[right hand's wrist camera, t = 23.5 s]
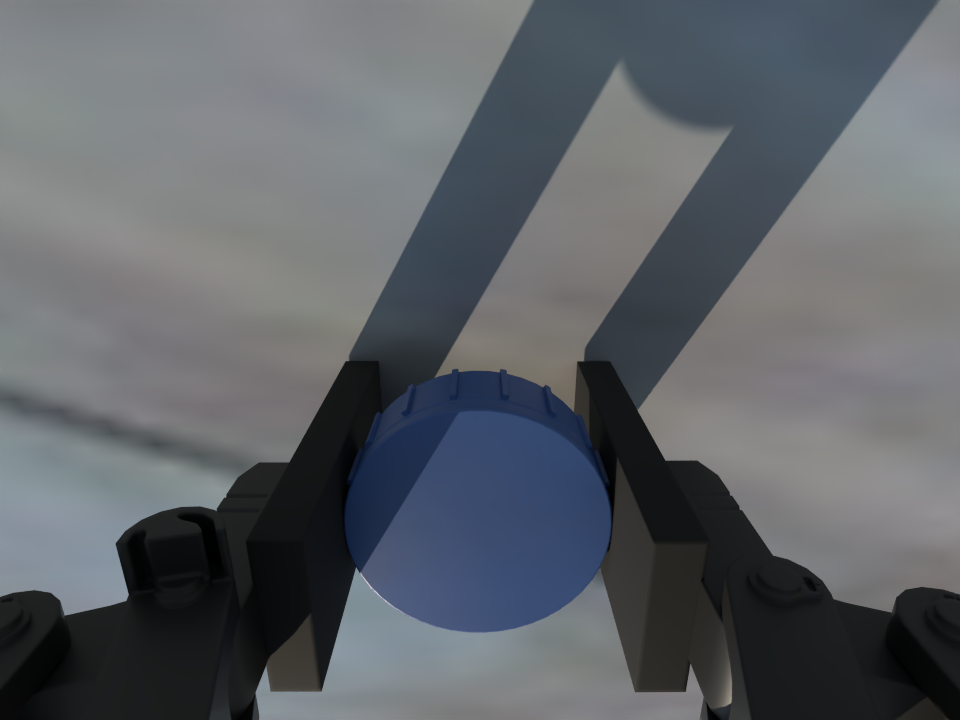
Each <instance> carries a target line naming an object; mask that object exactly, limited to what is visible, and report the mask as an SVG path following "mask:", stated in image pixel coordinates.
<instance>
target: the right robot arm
mask: <svg viewBox="0 0 960 720" xmlns="http://www.w3.org/2000/svg"><path fill="white" fill-rule="evenodd" d="M378 412H380V413H381V414H382V410H381V395H380V379H379V364H378V361H346V362H345V364H344V365H343V367H342V369H341V371H340V373H339V374H338V376H337V378H336V380H335V382H334V383H333V385H332V387H331V389H330V391H329V392H328V394H327V396H326V398H325V400H324V401H323V403H322V405H321V407H320V409H319V410H318V412H317V414H316V416H315V417H314V419H313V421H312V423H311V425H310V426H309V428H308V430H307V432H306V434H305V435H304V437H303V439H302V441H301V443H300V444H299V446H298V448H297V450H296V452H295V453H294V455H293V457H292V459H291V461H290V462H289V463H258V464H256V465H255V466H253V467H252V468H251V469H249V470H248V471H246V472H245V473H244V474H242V475H241V476H239V477H238V478H237V480H236V481H235V483H234V484H233V486H232V487H231V489H230V490H229V492H228V493H227V497H226V498H224V499H223V500H222V502H221V503H220V505H219V506H218V508H217V512H216V511H215V510H212V509H208V508H204V507H180V508H175V509H171V510H166V511H162V512H159V513H157V514H154V515H152V516H150V517H147V518H145V519H143V520H141V521H139V522H138V523H136V524H135V525H134V526H132V527H131V528H129V529H128V530H126V531H125V532H124V534H123V535H122V536H121V537H120V539H119V540H118V541H117V542H116V547H117V551H118V555H119V559H120V562H121V566H122V570H123V574H124V578H125V581H126V585H127V589H128V593H129V596H128V598H127V601H125V602H121V603H118V604H115V605H111V606H107V607H102V608H98V609H93V610H89V611H84V612H80V613H75V614H71V615H66V616H65V615H64V612H63V609H62V606H61V602H60V600H59V599H57V598H56V597H55V596H54V595H53V594H51V593H48V592H42V591H36V590H33V591H25V592H17V593H11V594H8V595H5V596H2V597H0V720H259V711H258V705H257V699H256V693H255V692H256V690H257V687H258V685H259V682H260V679H261V677H262V674H263V672H264V669H265V667H266V666H267V672H268V678H269V684H270V690H271V691H322V688H323V684H324V680H325V677H326V673H327V670H328V666H329V662H330V659H331V655H332V652H333V648H334V645H335V641H336V637H337V634H338V630H339V627H340V623H341V619H342V616H343V612H344V609H345V605H346V601H347V598H348V594H349V591H350V587H351V583H352V580H353V576H354V573H355V569H356V566H355V564H354V562H353V560H352V557H351V554H350V552H349V549H348V546H347V542H346V537H345V532H344V507H345V501H346V497H347V493H348V489H349V486H350V485H347V484H346V482H347V479H348V476H349V473H350V471H351V468H352V465H353V463H354V460H355V457H356V455H357V452H358V449H359V448H360V449H363V447H364V444H365V442H366V440H367V437H368V434H369V432H370V429H371V426H372V423H373V420H374V418H375V415H376V414H377V413H378ZM574 414H575V415H578V414H580V415H581V416H582V417H583V420H584V423H585V426H586V429H587V432H588V435H589V438H590V441H591V444H592V446H593V449H594V451H597V450H598V451H599V454H600V457H601V460H602V462H603V465H604V468H605V471H606V474H607V476H608V479H609V482H610V487H607V490H608V493H609V497H610V502H611V507H612V531H611V539H610V542H609V546H608V550H607V553H606V555H605V557H604V560H603V562H602V564H601V566H600V569H601V572H602V576H603V579H604V583H605V586H606V590H607V594H608V597H609V601H610V604H611V608H612V611H613V615H614V619H615V622H616V626H617V629H618V633H619V636H620V640H621V644H622V647H623V651H624V654H625V658H626V661H627V665H628V669H629V672H630V676H631V679H632V683H633V686H634V690H635V692H686V687H687V681H688V675H689V669H690V663H691V666H692V668H693V671H694V673H695V676H696V678H697V681H698V683H699V686H700V688H701V691H702V693H703V696H704V699H703V704H702V710H701V716H700V720H960V595H959V594H955V593H953V592H949V591H946V590H942V589H934V588H925V587H919V588H913V589H907V590H905V591H904V592H902V593H901V594H900V595H899V596H898V597H897V598H896V601H895V604H894V607H893V610H892V613H890V612H886V611H881V610H876V609H872V608H867V607H863V606H858V605H853V604H849V603H845V602H841V601H838V600H834V599H833V597H832V595H831V593H830V592H829V590H828V589H827V587H826V586H825V584H824V583H823V581H822V580H821V579H819V578H818V577H817V576H816V575H814V574H813V573H812V572H811V571H809V570H808V569H807V568H805V567H803V566H801V565H798V564H796V563H794V562H792V561H790V560H788V559H784V558H780V557H776V556H773V555H772V554H771V552H770V551H769V549H768V548H767V546H766V545H765V543H764V542H763V540H762V539H761V537H760V536H759V535H758V533H757V532H756V530H755V529H754V527H753V526H752V524H751V523H750V521H749V520H748V518H747V517H746V515H745V514H744V513H743V511H742V510H740V509H739V505H738V504H737V502H736V501H735V499H734V498H733V496H730V492H729V491H728V489H727V488H726V486H725V485H724V483H723V482H722V480H721V479H720V477H719V476H718V475H717V474H715V473H714V472H713V471H711V470H710V469H708V468H707V467H705V466H704V465H703V464H701V463H700V462H698V461H665V459H664V457H663V456H662V454H661V452H660V450H659V448H658V447H657V445H656V443H655V441H654V439H653V438H652V436H651V434H650V432H649V430H648V429H647V427H646V425H645V423H644V422H643V420H642V418H641V416H640V414H639V413H638V411H637V409H636V407H635V405H634V404H633V402H632V400H631V398H630V396H629V395H628V393H627V391H626V389H625V388H624V386H623V384H622V382H621V380H620V379H619V377H618V375H617V373H616V371H615V370H614V368H613V366H612V364H611V362H610V361H588V362H577V376H576V393H575V409H574Z"/></svg>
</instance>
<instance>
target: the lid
mask: <svg viewBox="0 0 960 720" xmlns="http://www.w3.org/2000/svg"><path fill="white" fill-rule="evenodd" d="M346 484H347V485H350V486H349V489H348V493H347V497H346V501H345V507H344V532H345V537H346V542H347V546H348V549H349V552H350V554H351V557H352V560H353V562H354V564H355V566H356V567H357V569H358V571H359V573H360V574H361V576H362V577H363V578H364V580H365V581H366V582H367V584H368V585H369V586H370V587H371V588H372V589H373V590H374V591H375V592H376V593H377V594H378V595H379V596H380V597H381V598H382V599H383V600H384V601H386V602H387V603H388V604H390V605H391V606H392V607H394V608H395V609H397V610H399V611H400V612H402V613H404V614H405V615H407V616H409V617H411V618H414V619H416V620H418V621H420V622H423V623H426V624H429V625H432V626H435V627H439V628H443V629H448V630H453V631H461V632H495V631H503V630H508V629H514V628H518V627H521V626H525V625H528V624H531V623H534V622H536V621H538V620H541V619H543V618H546V617H547V616H549V615H551V614H553V613H555V612H556V611H558V610H560V609H561V608H563V607H564V606H565V605H567V604H568V603H569V602H571V601H572V600H573V599H574V598H575V597H576V596H578V595H579V594H580V593H581V592H582V591H583V590H584V589H585V587H586V586H587V585H588V584H589V583H590V582H591V580H592V579H593V578H594V576H595V574H596V573H597V571H598V570H599V568H600V566H601V564H602V562H603V560H604V557H605V555H606V553H607V550H608V546H609V542H610V539H611V531H612V507H611V502H610V497H609V493H608V490H607V487H610V482H609V479H608V476H607V474H606V471H605V468H604V465H603V462H602V460H601V457H600V454H599V451H598V450H597V451H594V449H593V446H592V444H591V441H590V438H589V435H588V432H587V429H586V426H585V423H584V420H583V417H582V416H581V415H580V414H578V415H575V414H574V412H573V411H572V410H571V409H570V408H569V407H568V406H567V405H566V404H565V403H564V402H563V401H562V400H560V399H559V398H558V397H556V396H555V395H554V394H552V393H551V389H550V387H549V386H547V385H545V386H544V388H543V387H541V386H539V385H537V384H535V383H533V382H530V381H528V380H525V379H523V378H520V377H516V376H513V375H509V374H507V372H506V370H503V369H501V370H500V373H498V372H491V371H466V372H459V371H458V369H454V370H452V374H448V375H443V376H439V377H436V378H434V379H431V380H428V381H425V382H423V383H421V384H419V385H417V386H414V384H411V385H409V386H408V389H407V392H406V393H404V394H403V395H401V396H400V397H398V398H397V399H396V400H395V401H394V402H393V403H392V404H391V405H389V406H388V407H387V408H386V409H385V411H384V412H383V413H382V414H381V413H380V412H378V413H377V414H376V415H375V418H374V420H373V423H372V426H371V429H370V432H369V434H368V437H367V440H366V442H365V444H364V447H363V449H360V448H359V449H358V452H357V455H356V457H355V460H354V463H353V465H352V468H351V471H350V473H349V476H348V479H347V482H346Z"/></svg>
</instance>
